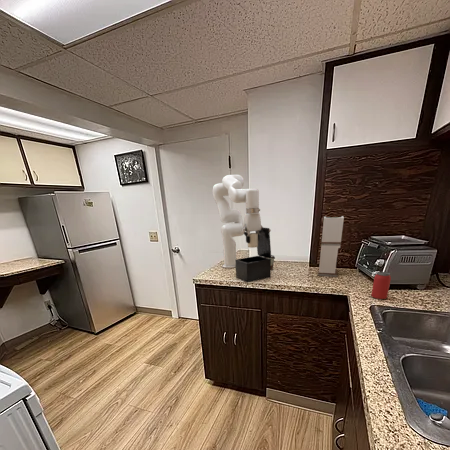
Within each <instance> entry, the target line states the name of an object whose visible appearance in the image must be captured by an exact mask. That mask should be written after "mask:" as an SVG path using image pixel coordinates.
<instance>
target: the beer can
mask: <svg viewBox="0 0 450 450" xmlns="http://www.w3.org/2000/svg"><path fill="white" fill-rule="evenodd" d="M391 280H392V277H391V273H390V272H386V271H378V272H376V273H375V276H374V278H373V282H372V289H371V298H373V299H376V300H386V299H387V298H388V295H389V290H390V286H391Z"/></svg>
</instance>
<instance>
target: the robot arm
mask: <svg viewBox="0 0 450 450" xmlns="http://www.w3.org/2000/svg"><path fill="white" fill-rule="evenodd" d="M244 181H245V179H244V177H243V175H241V174H227V175H224V176H223V178H222V180H221V182H219V183H215V184H214V185H213V187H212V196H213V199H214V201H215V203H216V206H217V211H218V214H219V219H220V221H221V223H223V225H221V227H220V233H221V238H222V247H223V264H222V268H224V269H236V261H235V260H236V259H237V242H236V240H235V239H234V238H235V237H242V236H243V235H244V237H245V243H247V244H248V243H250V236H249V234H250V233H251V232H254V233H258V242H259V239H260V233H261V232H262V228H264V226H263V225H262V218H261V214H260V212H261V209H260V202H259V201H260V191H259V188H243V187H244V184H245V182H244ZM225 197H229V199H230V200H231V201H232V202H233V203H236V204H242V203H245V214H244V217H242V216H243V215H242V212H241V211H240V209H238V208H231V207H230V203H229V201H228V200H227V199H226V198H225Z"/></svg>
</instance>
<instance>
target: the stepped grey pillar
mask: <svg viewBox="0 0 450 450" xmlns="http://www.w3.org/2000/svg"><path fill="white" fill-rule="evenodd" d="M344 221H345V217H344V215H341V216H339V217H327V216H323V224H322V235H321V243H320V255H319V266H318V276H319V277H334V278H335V277H338V269H337V261H338V253H339V249H341V246H342V237H343V229H344Z"/></svg>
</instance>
